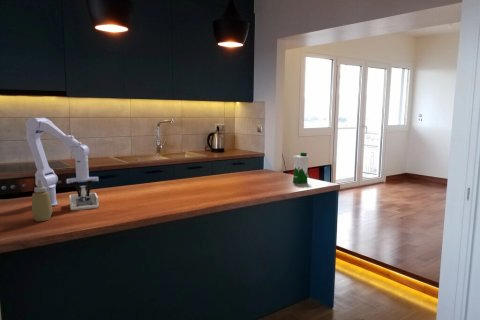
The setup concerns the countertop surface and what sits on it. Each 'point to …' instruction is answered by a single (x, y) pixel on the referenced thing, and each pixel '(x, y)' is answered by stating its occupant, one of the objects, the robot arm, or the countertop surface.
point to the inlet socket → (83, 202)
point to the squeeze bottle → (41, 203)
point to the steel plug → (83, 193)
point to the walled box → (94, 205)
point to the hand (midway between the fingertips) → (83, 196)
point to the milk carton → (300, 168)
